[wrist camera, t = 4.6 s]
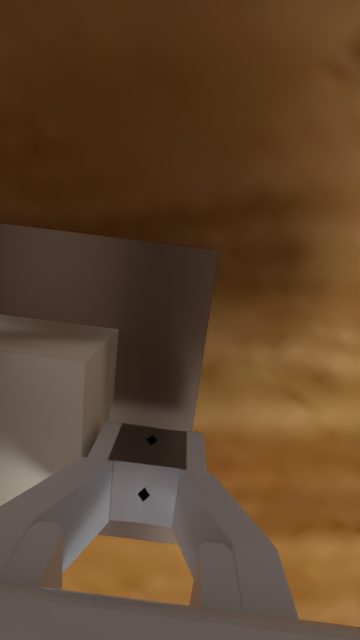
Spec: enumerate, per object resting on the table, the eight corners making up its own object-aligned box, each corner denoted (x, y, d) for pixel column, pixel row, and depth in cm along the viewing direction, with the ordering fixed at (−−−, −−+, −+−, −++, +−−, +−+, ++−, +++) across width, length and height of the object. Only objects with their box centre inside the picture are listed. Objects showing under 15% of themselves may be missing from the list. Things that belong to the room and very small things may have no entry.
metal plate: (211, 252, 11) (219, 250, 8) (177, 484, 14) (174, 544, 11) (-158, 206, 11) (-277, 188, 8) (-120, 446, 14) (-202, 495, 11)
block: (118, 329, 9) (85, 362, 6) (108, 475, 10) (76, 559, 8) (-54, 307, 9) (-170, 330, 6) (-43, 455, 10) (-132, 532, 8)
